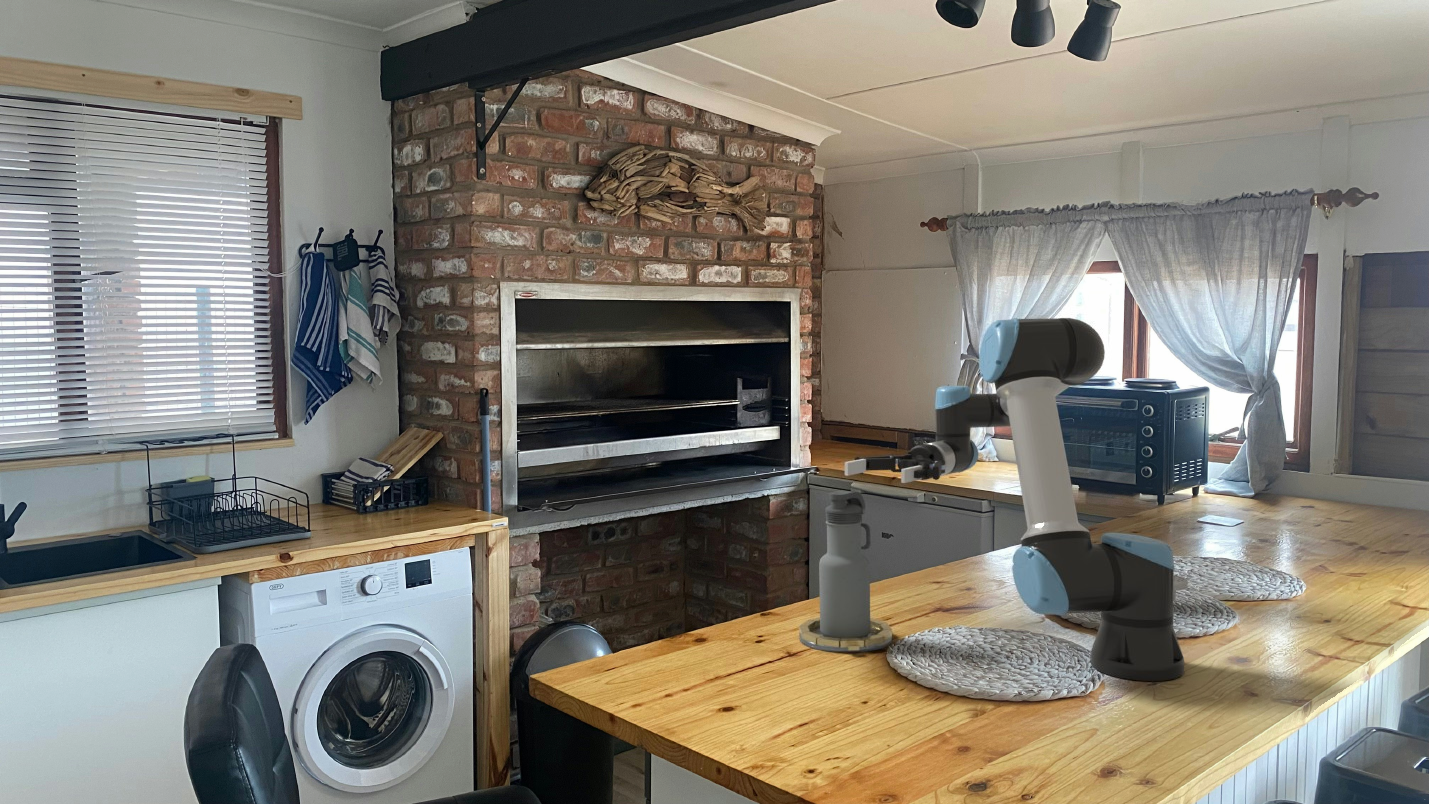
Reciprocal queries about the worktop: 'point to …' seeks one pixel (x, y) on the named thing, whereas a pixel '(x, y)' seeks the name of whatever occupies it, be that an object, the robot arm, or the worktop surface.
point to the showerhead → (1179, 585)
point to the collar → (816, 640)
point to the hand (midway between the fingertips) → (873, 472)
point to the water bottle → (845, 570)
